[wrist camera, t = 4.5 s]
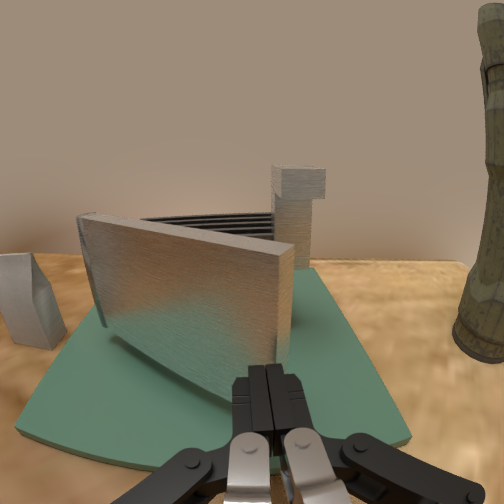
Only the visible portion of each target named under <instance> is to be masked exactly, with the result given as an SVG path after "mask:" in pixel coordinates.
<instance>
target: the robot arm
mask: <svg viewBox="0 0 504 504" xmlns="http://www.w3.org/2000/svg"><path fill="white" fill-rule="evenodd" d="M232 428H233V433H232V437H231V439H230V441H229V442H228V443H227V444H226V445H224V446H223V447H221V448H218V449H215V450H211V451H207V452H205V451H203V450H201V449H199V448H185V449H183V450H181V451H179V452H178V453H176V454H175V455H174V456H173V457H172V458H170V459H169V460H168V461H167V462H166V463H164V464H163V465H162V466H161V467H159V468H158V469H157V470H156V471H154V472H153V473H152V474H150V475H149V476H148V477H147V478H145V479H144V480H143V481H141V482H140V483H139V484H137V485H136V486H135V487H133V488H132V489H130V490H129V491H128V492H126V493H125V494H123V495H122V496H121V497H119V498H118V499H116V500H115V501H113V502H112V503H110V504H208V503H209V502H210V501H211V500H212V499H213V498H214V497H215V496H216V495H217V494H219V493H223V492H225V496H224V504H271V493H270V472H269V463H270V457H272V452H273V457H275V456H279V460H280V475H281V479H282V483H283V487H284V491H285V495H286V499H287V502H288V504H352V502H351V499H350V497H349V494H351V495H353V496H355V497H356V498H358V499H360V500H362V501H364V502H365V503H367V504H483V503H484V500H485V490H484V488H483V487H482V485H480V484H478V483H475V482H473V481H470V480H467V479H464V478H462V477H459V476H457V475H454V474H452V473H449V472H447V471H444V470H442V469H439V468H437V467H435V466H432V465H430V464H428V463H426V462H423V461H421V460H419V459H417V458H415V457H413V456H411V455H408V454H406V453H404V452H402V451H400V450H398V449H396V448H394V447H392V446H390V445H388V444H386V443H384V442H383V441H381V440H379V439H377V438H375V437H373V436H371V435H369V434H367V433H354V434H351V435H350V436H348V437H347V438H346V439H338V438H328V437H325V436H323V435H321V434H319V433H318V432H317V431H316V430H315V428H314V426H313V423H312V419H311V416H310V412H309V408H308V405H307V401H306V397H305V394H304V390H303V386H302V383H301V380H300V379H299V378H298V377H297V376H296V375H295V374H294V373H292V374H284V370H283V366H282V363H277V364H265V366H264V365H248V377H236V379H235V381H234V383H233V385H232ZM348 493H349V494H348Z"/></svg>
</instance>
